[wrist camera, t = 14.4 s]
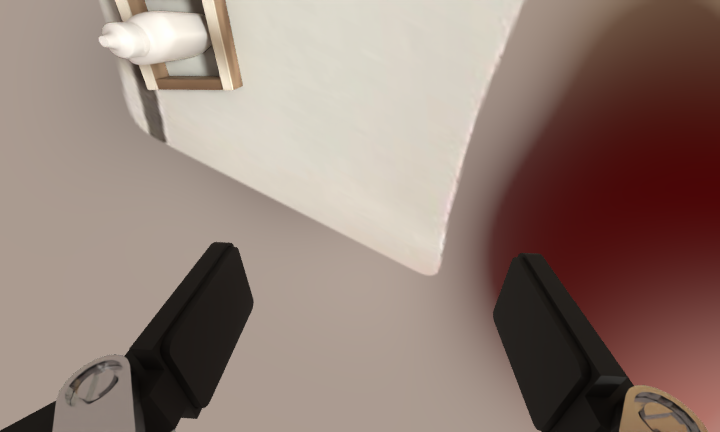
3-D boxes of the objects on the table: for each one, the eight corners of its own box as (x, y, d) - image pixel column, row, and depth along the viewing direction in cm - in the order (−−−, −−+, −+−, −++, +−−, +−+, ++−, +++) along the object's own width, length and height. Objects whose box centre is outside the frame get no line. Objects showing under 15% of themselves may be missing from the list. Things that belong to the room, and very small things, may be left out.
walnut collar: (128, -18, 29) (106, -22, 27) (221, -19, 29) (207, -23, 26) (163, 85, 34) (148, 89, 32) (242, 85, 34) (232, 90, 32)
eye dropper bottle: (160, 9, 30) (51, 1, 20) (214, 14, 30) (131, 8, 20) (171, 57, 33) (78, 70, 23) (221, 62, 33) (150, 77, 23)
